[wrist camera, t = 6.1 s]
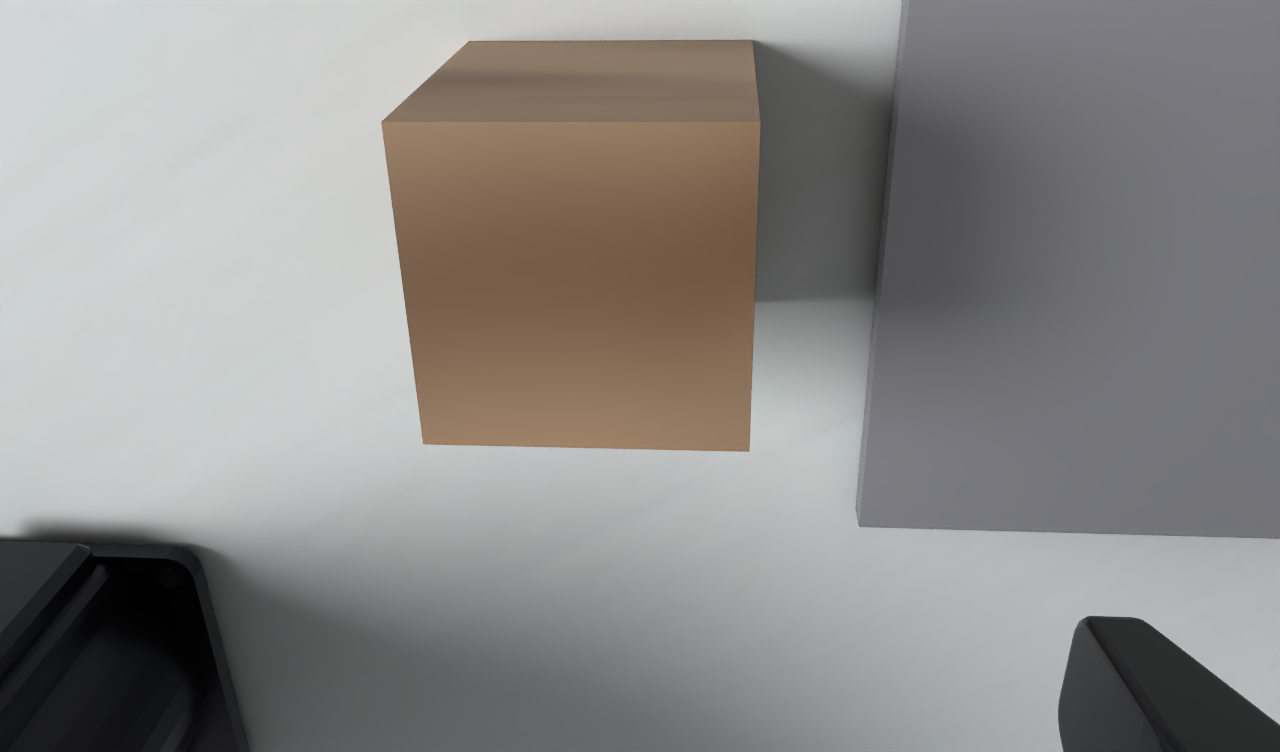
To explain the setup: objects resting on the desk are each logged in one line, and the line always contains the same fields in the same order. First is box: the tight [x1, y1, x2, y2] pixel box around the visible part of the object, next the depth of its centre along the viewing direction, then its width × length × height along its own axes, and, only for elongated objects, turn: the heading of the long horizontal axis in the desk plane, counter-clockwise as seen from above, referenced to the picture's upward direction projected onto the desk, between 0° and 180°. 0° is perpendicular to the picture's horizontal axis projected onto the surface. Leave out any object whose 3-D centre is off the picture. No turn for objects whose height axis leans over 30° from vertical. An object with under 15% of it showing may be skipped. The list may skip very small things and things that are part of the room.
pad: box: [856, 0, 1280, 539], centre depth 18 cm, size 10×10×1 cm
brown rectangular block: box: [382, 40, 761, 452], centre depth 16 cm, size 4×4×5 cm
